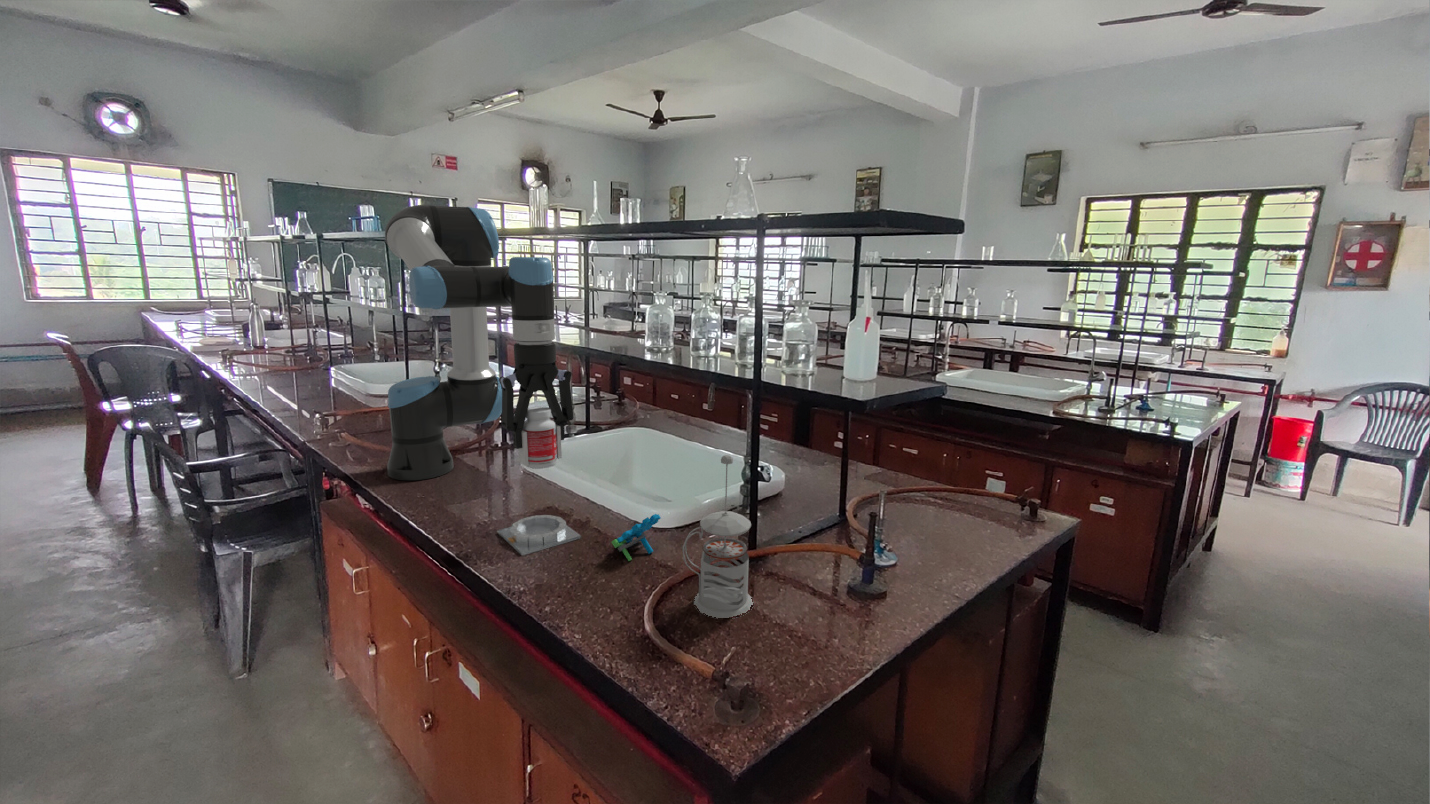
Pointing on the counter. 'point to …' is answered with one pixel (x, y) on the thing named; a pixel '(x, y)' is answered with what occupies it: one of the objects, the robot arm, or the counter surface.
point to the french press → (723, 563)
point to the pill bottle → (540, 438)
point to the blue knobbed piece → (638, 533)
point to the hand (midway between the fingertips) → (540, 459)
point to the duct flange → (538, 533)
